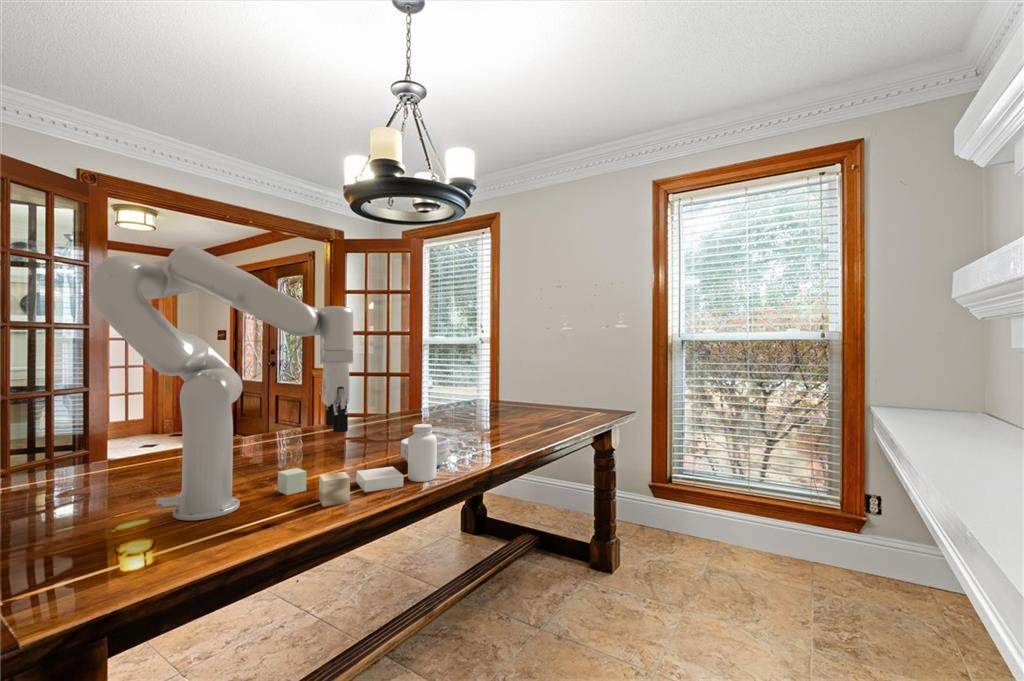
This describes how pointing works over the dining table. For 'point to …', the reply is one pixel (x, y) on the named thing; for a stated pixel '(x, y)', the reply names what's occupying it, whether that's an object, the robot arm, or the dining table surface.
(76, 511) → the dining table surface
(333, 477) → the maple cube
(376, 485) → the plinth
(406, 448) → the paper bowls
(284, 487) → the sage cube
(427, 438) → the pill bottle
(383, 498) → the dining table surface
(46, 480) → the dining table surface
